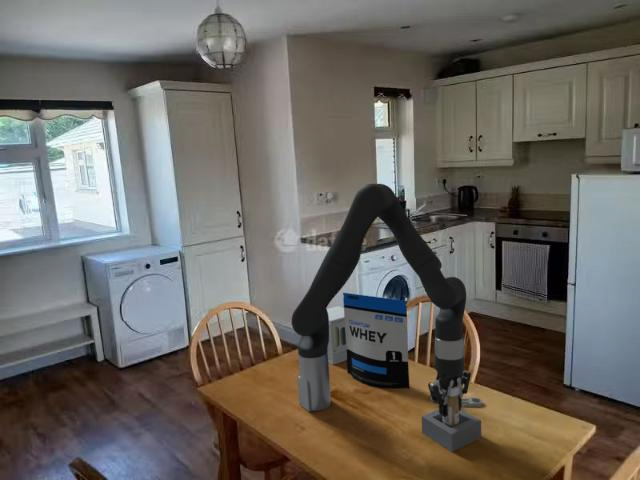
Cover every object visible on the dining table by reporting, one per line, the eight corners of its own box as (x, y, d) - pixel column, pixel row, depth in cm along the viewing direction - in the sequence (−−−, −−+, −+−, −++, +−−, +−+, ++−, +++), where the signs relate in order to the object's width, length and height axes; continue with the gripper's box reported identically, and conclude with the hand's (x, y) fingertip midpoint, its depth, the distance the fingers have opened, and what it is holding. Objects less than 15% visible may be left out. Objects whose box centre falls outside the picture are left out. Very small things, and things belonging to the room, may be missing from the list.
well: (451, 452, 124) (451, 434, 123) (422, 433, 134) (421, 416, 133) (481, 437, 130) (481, 420, 129) (450, 420, 139) (450, 404, 138)
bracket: (437, 387, 156) (483, 398, 147) (437, 393, 156) (484, 404, 147) (427, 397, 150) (475, 409, 141) (427, 403, 150) (475, 415, 141)
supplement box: (332, 365, 181) (329, 320, 178) (313, 355, 192) (310, 312, 189) (360, 356, 188) (358, 312, 185) (340, 346, 199) (338, 305, 196)
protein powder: (354, 368, 178) (350, 289, 173) (415, 382, 163) (412, 297, 158) (340, 378, 170) (335, 296, 165) (403, 394, 156) (399, 305, 151)
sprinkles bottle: (462, 435, 130) (462, 388, 128) (447, 438, 129) (446, 391, 127) (454, 426, 134) (453, 380, 132) (439, 429, 133) (438, 383, 131)
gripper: (457, 342, 135) (458, 399, 137) (419, 355, 127) (421, 415, 130) (479, 350, 128) (479, 410, 131) (440, 364, 121) (441, 427, 124)
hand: (450, 412), depth 131 cm, fingers closed on sprinkles bottle, 4 cm apart
